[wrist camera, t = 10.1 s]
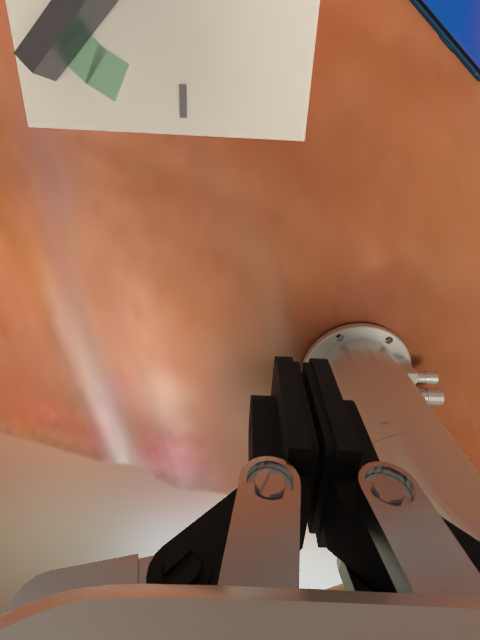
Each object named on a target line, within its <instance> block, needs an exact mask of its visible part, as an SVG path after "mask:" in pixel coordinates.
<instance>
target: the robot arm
mask: <svg viewBox="0 0 480 640" xmlns="http://www.w3.org/2000/svg"><path fill="white" fill-rule="evenodd" d="M337 335H338V336H337ZM438 380H439V377H438V374H437V372H432V371H423V372H419V371H416V369H413V367H412V364H411V357H410V354H409V352H408V349H407V348H406V346H405V345H404V343H403V342H402V341H401V340H400V339H399V337H398V336H397V335H395V334H394V333H393V332H391V331H390V330H388V329H386V328H384V327H381V326H378V325H374V324H369V323H355V324H348V325H344V326H341V327H337V328H335V329H333V330H331V331H329V332H327V333H326V334H324V335H323V336H321V337H320V338H319V339H318V340H317V341H316V342H315V343H314V344H313V345H312V346H311V347H310V349H309V350H308V352H307V353H306V355H305V357H304V360H303V362H302V368H301V369H300V364H299V362H293V358H292V357H279V356H275V360H274V369H273V379H272V389H271V396H257V395H251V401H250V414H249V462H248V463H247V464H246V465H245V466H244V467H243V469H242V472H241V474H240V478H239V483H238V488H237V489H236V490H234V491H233V492H232V493H230V494H229V495H228V496H227V497H225V498H224V499H223V500H222V501H220V502H219V503H218V504H217V505H215V506H214V507H213V508H211V509H210V510H209V511H208V512H206V513H205V514H204V515H202V516H201V517H200V518H198V519H197V520H196V521H195V522H193V523H192V524H191V525H190V526H188V527H187V528H186V529H184V530H183V531H182V532H181V533H179V534H178V535H177V536H175V537H174V538H173V539H172V540H170V541H169V542H168V543H167V544H165V545H164V546H163V547H162V548H161V549H160V550H159V551H158V552H157V553H156V554H155V555H154V556H150V557H145V558H140V559H139V557H138V554H135V555H130V556H125V557H119V558H114V559H109V560H103V561H98V562H93V563H88V564H83V565H77V566H72V567H67V568H62V569H56V570H51V571H48V572H45V573H42V574H40V575H37V576H35V577H34V578H32V579H31V580H30V581H28V582H27V583H26V584H24V585H23V586H22V587H21V589H20V590H19V591H18V592H17V593H16V594H15V596H14V597H13V599H12V601H11V603H10V606H9V607H8V610H7V612H6V613H5V614H3V615H1V616H0V640H480V475H479V473H478V472H477V471H476V469H475V468H474V466H473V465H472V464H471V462H470V461H469V459H468V458H467V457H466V455H465V454H464V453H463V451H462V450H461V448H460V447H459V445H458V444H457V443H456V441H455V440H454V438H453V437H452V436H451V434H450V433H449V431H448V430H447V429H446V427H445V426H444V424H443V423H442V422H441V420H440V419H439V417H438V416H437V414H436V413H435V412H434V410H433V409H432V407H431V406H430V405H440V406H441V405H442V404H443V403H444V393H443V391H442V390H441V389H440V388H417V386H416V383H424V384H437V383H438ZM307 523H308V528H309V532H310V533H316V537H317V543H318V547H326V548H327V549H328V550H329V551H331V552H332V553H333V554H334V555H335V556H337V565H338V570H339V573H340V576H341V579H342V582H343V584H340V585H337V586H334V587H332V588H329V589H326V590H320V589H299V554H300V553H299V552H300V550H301V549H302V547H303V542H304V536H305V531H306V526H307Z"/></svg>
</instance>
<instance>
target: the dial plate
mask: <svg viewBox="0 0 480 640" xmlns="http://www.w3.org/2000/svg"><path fill="white" fill-rule="evenodd" d="M5 1H6V6H7V12H8V17H9V23H10V28H11V34H12V39H13V45H14V51H15V50H16V49H17V48H18V46H19V45H20V43H21V42H22V41H23V39H24V38H25V36H26V35H27V33H28V32H29V31H30V29H31V28H32V26H33V25H34V24H35V22H36V21H37V19H38V18H39V17H40V15H41V14H42V12H43V11H44V9H45V8H46V7H47V5H48V4H49V2H50V1H51V0H5ZM319 5H320V0H118V2H117V3H116V4H115V5H114V7H113V8H112V9H111V11H110V12H109V13H108V15H107V16H106V17H105V18H104V20H103V21H102V22H101V24H100V25H99V26H98V27H97V29H96V30H95V31H94V33H93V34H92V35H91V37H90V38H89V39H88V40H87V42H86V43H85V44H84V46H83V47H82V48H81V50H80V51H79V52H78V53H77V55H76V56H75V57H74V59H73V60H72V61H71V62H70V64H69V65H68V66H67V68H66V69H65V70H64V72H63V73H62V74H61V75H60V77H59V78H58V79H57V81H53V80H51V79H48V78H45V77H42V76H39V75H36V74H33V73H32V72H31V71H30V70H29V69H28V68H27V67H26V66H25V65H24V64H23V63H22V62H21V60H20V59H19V58H18V57H17V56H16V55H15V56H16V62H17V67H18V73H19V78H20V84H21V89H22V95H23V100H24V106H25V111H26V117H27V122H28V127H33V128H50V129H69V130H89V131H109V132H128V133H148V134H168V135H187V136H207V137H227V138H247V139H266V140H286V141H305V133H306V123H307V114H308V105H309V96H310V87H311V78H312V69H313V60H314V50H315V41H316V32H317V23H318V14H319Z"/></svg>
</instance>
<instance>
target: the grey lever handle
mask: <svg viewBox="0 0 480 640" xmlns="http://www.w3.org/2000/svg"><path fill="white" fill-rule="evenodd" d="M117 2H118V0H51V1H50V2H49V4H48V5H47V7H46V8H45V9H44V11H43V12H42V14H41V15H40V17H39V18H38V19H37V21H36V22H35V24H34V25H33V26H32V28H31V29H30V31H29V32H28V33H27V35H26V36H25V38H24V39H23V41H22V42H21V43H20V45H19V46H18V48H17V49H16V50H15V52H14V54H15V55H16V56H17V57H18V58H19V59H20V60H21V62H22V63H23V64H24V65H25V66H26V67H27V68H28V69H29V70H30V71H31V72H32V73H33V74H36V75H39V76H42V77H45V78H48V79H51V80H53V81H57V79H58V78H59V77H60V75H61V74H62V73H63V72H64V70H65V69H66V68H67V66H68V65H69V64H70V62H71V61H72V60H73V59H74V57H75V56H76V55H77V53H78V52H79V51H80V50H81V48H82V47H83V46H84V44H85V43H86V42H87V40H88V39H89V38H90V37H91V35H92V34H93V33H94V31H95V30H96V29H97V27H98V26H99V25H100V24H101V22H102V21H103V20H104V18H105V17H106V16H107V15H108V13H109V12H110V11H111V9H112V8H113V7H114V5H115V4H116V3H117Z"/></svg>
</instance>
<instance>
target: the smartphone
mask: <svg viewBox="0 0 480 640" xmlns="http://www.w3.org/2000/svg"><path fill="white" fill-rule="evenodd" d="M410 1H411V3H412V4H413V5H414V6H415V7H416V9H417V10H418V11H419V12H420V13H421V15H422V16H423V17H424V18H425V19H426V21H427V22H428V23H429V24H430V25H431V26H432V28H433V29H434V30H435V31H436V32H437V34H438V35H439V36H440V39H441V40H442V41H443V42H444V43H445V44H446V46H447V47H448V48H449V49H450V50H451V51H452V52H453V53H454V54H455V55H456V56H457V57H458V59H459V60H460V61H461V62H462V63H463V65H464V66H465V67H466V68H467V69H468V71H469V72H470V73H471V74H472V75H473V76H474V78H475V79H476V80H477V81H479V82H480V75H479V74H480V0H410ZM475 75H476V76H475Z"/></svg>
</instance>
